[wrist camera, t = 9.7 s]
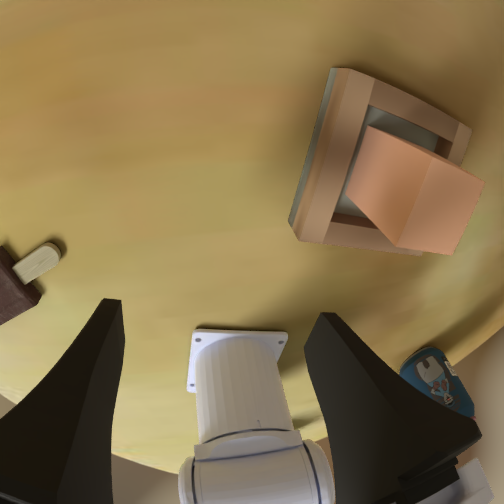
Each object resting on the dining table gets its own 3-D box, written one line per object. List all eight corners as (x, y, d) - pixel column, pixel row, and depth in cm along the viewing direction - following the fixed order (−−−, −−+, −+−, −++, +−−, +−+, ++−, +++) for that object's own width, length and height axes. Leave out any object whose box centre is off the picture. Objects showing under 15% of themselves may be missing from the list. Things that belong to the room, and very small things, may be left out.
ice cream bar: (40, 214, 17) (-43, 286, 18) (30, 226, 15) (-51, 297, 17) (82, 271, 20) (-11, 324, 21) (76, 285, 18) (-16, 335, 20)
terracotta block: (398, 206, 19) (451, 255, 14) (344, 194, 18) (395, 246, 13) (421, 146, 17) (485, 182, 12) (367, 125, 16) (432, 156, 11)
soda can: (410, 378, 37) (443, 444, 27) (385, 374, 34) (422, 451, 24) (445, 347, 34) (485, 413, 24) (425, 338, 31) (471, 416, 22)
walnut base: (404, 238, 22) (420, 256, 20) (287, 220, 20) (298, 241, 17) (449, 120, 17) (472, 129, 15) (330, 67, 14) (350, 68, 12)
